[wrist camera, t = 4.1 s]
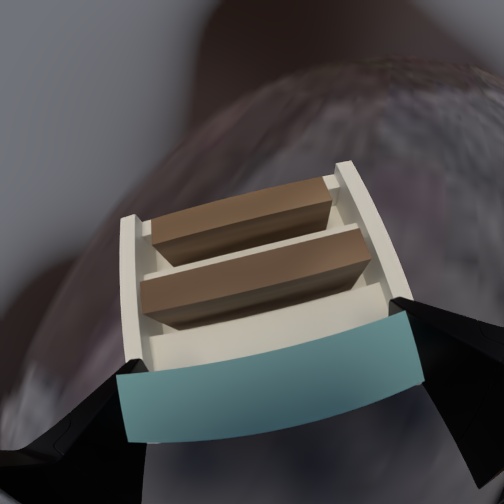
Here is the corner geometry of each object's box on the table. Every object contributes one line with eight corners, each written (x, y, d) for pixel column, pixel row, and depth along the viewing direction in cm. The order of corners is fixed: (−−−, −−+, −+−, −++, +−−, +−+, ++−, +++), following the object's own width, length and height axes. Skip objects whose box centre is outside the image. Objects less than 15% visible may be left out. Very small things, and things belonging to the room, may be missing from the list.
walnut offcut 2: (350, 289, 15) (371, 258, 11) (178, 330, 15) (141, 313, 11) (342, 265, 16) (359, 227, 12) (175, 306, 16) (139, 281, 12)
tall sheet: (338, 377, 13) (424, 380, 4) (227, 402, 13) (128, 442, 4) (331, 350, 14) (405, 310, 5) (221, 376, 14) (116, 375, 5)
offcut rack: (403, 377, 13) (435, 376, 10) (172, 431, 14) (140, 443, 10) (342, 199, 19) (351, 160, 15) (148, 247, 19) (120, 218, 15)
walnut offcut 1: (324, 237, 17) (332, 199, 13) (179, 273, 17) (151, 245, 13) (316, 217, 17) (322, 176, 14) (177, 251, 17) (150, 219, 14)
